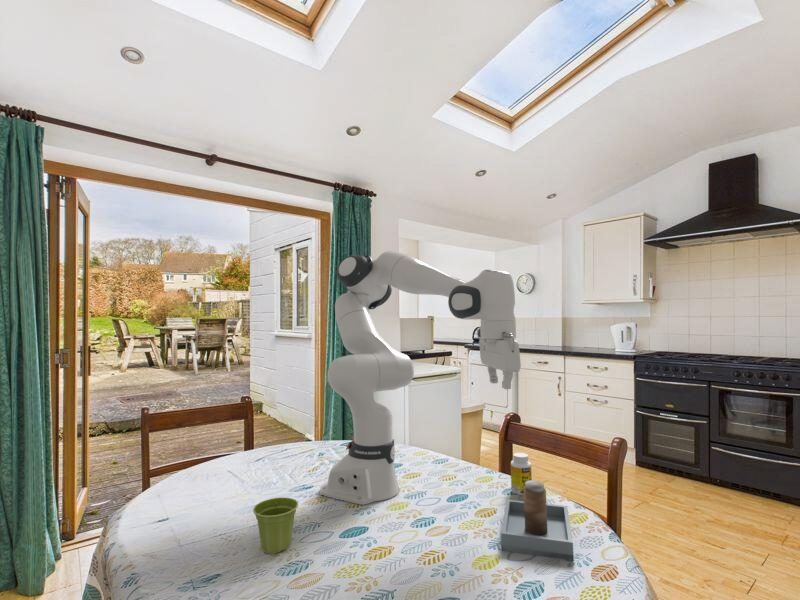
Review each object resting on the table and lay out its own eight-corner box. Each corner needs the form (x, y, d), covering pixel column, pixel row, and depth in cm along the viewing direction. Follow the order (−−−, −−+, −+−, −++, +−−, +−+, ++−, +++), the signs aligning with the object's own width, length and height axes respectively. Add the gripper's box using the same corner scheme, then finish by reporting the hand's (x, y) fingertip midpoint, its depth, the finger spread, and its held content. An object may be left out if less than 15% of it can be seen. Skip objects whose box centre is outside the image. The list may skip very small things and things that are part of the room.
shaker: (525, 534, 93) (523, 487, 94) (524, 523, 98) (523, 478, 98) (548, 536, 92) (546, 488, 93) (546, 525, 97) (544, 480, 97)
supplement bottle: (522, 498, 114) (521, 459, 115) (507, 491, 119) (505, 454, 119) (536, 492, 117) (535, 455, 118) (520, 486, 122) (519, 450, 122)
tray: (501, 550, 89) (501, 533, 89) (507, 513, 105) (506, 499, 105) (573, 560, 85) (572, 542, 85) (567, 521, 101) (567, 506, 101)
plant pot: (262, 535, 97) (262, 497, 98) (303, 535, 97) (302, 496, 97) (246, 558, 88) (246, 516, 88) (291, 558, 88) (291, 515, 88)
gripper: (526, 332, 100) (528, 392, 99) (496, 330, 120) (498, 379, 120) (500, 333, 99) (502, 393, 98) (475, 331, 119) (476, 380, 119)
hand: (499, 385), depth 109 cm, fingers open, 8 cm apart
